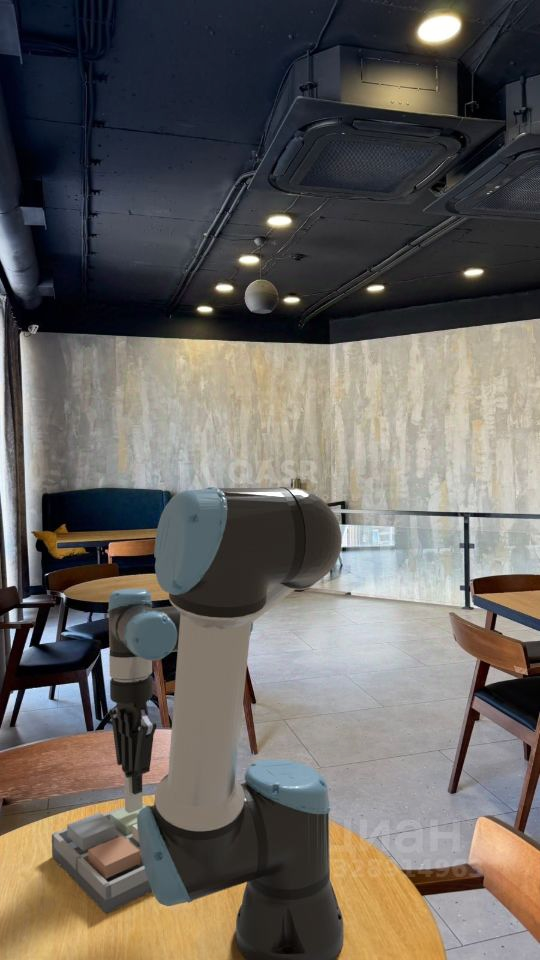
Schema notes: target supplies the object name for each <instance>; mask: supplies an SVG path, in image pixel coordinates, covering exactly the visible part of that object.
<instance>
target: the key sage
mask: <svg viewBox="0 0 540 960" xmlns="http://www.w3.org/2000/svg"><path fill="white" fill-rule="evenodd" d="M144 805H145V804H144ZM144 805H143V808H145V807H146V806H147V805H146V806H144ZM143 808H142V809H143ZM140 810H141V809H139V810H137V811H134V812H132V813H128V812H126V811H125V808H124V809H121V810H119V811H116V812H113V813H111V814H110V821H111V822H112V823H114V824H115V825H116V830H118V831H119V832H120V833H121V834H123V835H124V836H125V837H126V836H128V835H130V834H132V826H133V825H135V824H137V816H138V813H139V811H140Z"/></svg>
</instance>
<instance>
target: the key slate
mask: <svg viewBox="0 0 540 960" xmlns="http://www.w3.org/2000/svg"><path fill="white" fill-rule="evenodd" d="M102 814H103V813H102V812H96V813H95V814H91V815H89V816H86V817H84V818H81V819H78V820H76V821H73V822H71V823H68V824H67V827H66V828H67V836H68V837H69V838H70V839H71V840H72V841H73V842H74V843H75V844H76V845H77V846H78V847H79V848H80V849H81V850H82V851H84V850H87V849H89V848H91V847H94V846H96V845H99V844H101V843H103V842H106V841H108V840H111V839H113V838H115V837H116V825H115V824H114V823H112V822H111V821H110V820H109V819H107V818H106V817H105V816H104V815H102Z"/></svg>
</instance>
